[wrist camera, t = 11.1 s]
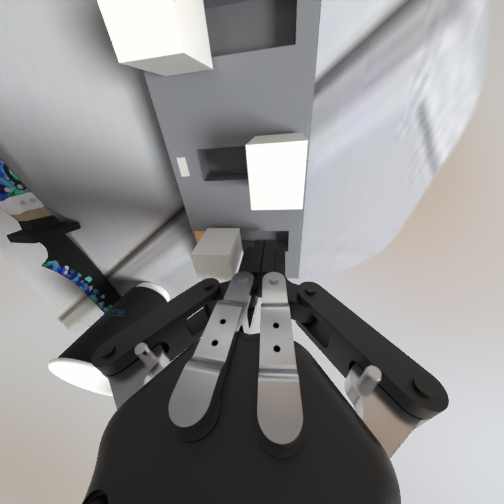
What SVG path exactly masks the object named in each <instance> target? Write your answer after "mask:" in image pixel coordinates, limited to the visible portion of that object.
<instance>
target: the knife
mask: <svg viewBox="0 0 504 504" xmlns="http://www.w3.org/2000/svg"><path fill="white" fill-rule="evenodd" d="M0 207H1V208H2V209H3V210H5V211H6V212H7V213H8V214H10V215H11V216H12V217H14V218H15V219H16V220H18V222H19V224H20V226H21V228H22V230H20V231H17V232H14V233H12V234H9V235H7V237H8V239H9V240H10V242H15V243H38V242H40V243H41V244H43V245H44V246H45V247H46V249H47V251H48V258H47V260H46V262H45V263H43V265H42V266H43V267H46V268H48V269H51V270H53V271H55V272H57V273H59V274H61V275H63V276H65V277H66V278H68V279H70V280H71V281H72V282H74V283H75V284H76V285H77V286H78V287H79V288H80V289H82V290H83V291H84V292H85V293H86V294H87V295H88V296H89V297H90V298H91V299H92V300H93V301H94V302H95V304H96V305H97V306H98V307H99V308H100V309H101V310H102V311H103V312H104V313H106V312H107V311H108V310H109V309H110V308H111V307H112V306H114V305H115V304H116V303H117V302H118V301H119V300H120V299H121V297H120V296H119V294H118V293H117V291H116V290H115V289H114V288H113V286H112V285H111V284H110V282H109V281H108V280H107V279H106V278H105V277H104V275H103V274H102V273H101V272H100V271H99V270H98V269H97V268H96V266H95V265H94V264H93V263H92V262H91V261H90V260H89V258H88V257H87V256H86V255H85V254H84V253H83V252H82V251H81V250H80V249H79V248H78V247H77V246H76V245H75V244H74V243H73V242H72V241H71V240H70V239H69V238H68V237H67V235H66V234H65V233H68V232H71V231H74V230H77V229H80V228H81V227H80V224H79V223H70V222H61V221H60V220H58V219H57V218H56V217H55V216H54V215H52V214H51V213H50V211H49V210H48V209H47V208H46V207H45V206H44V205H43V204H42V203H41V202H40V201H39V199H38V198H37V197H36V196H35V195H34V194H33V193H32V192H31V191H30V190H29V189H28V188H27V186H26V185H25V184H24V183H23V182H22V181H21V180H20V179H19V178H18V177H17V176H16V175H15V173H14V172H13V171H12V170H11V169H10V168H9V167H8V166H7V165H6V164H5V163H4V161H3V160H2V159H1V158H0Z"/></svg>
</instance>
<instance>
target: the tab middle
mask: <svg viewBox="0 0 504 504" xmlns="http://www.w3.org/2000/svg"><path fill="white" fill-rule="evenodd" d="M245 146H246V157H247V168H248V179H249V191H250V202H251V210H291V209H303V197H304V185H305V172H306V159H307V146H308V140H307V138H306V137H305V136H304V134H303V133H302V132H299V133H287V134H275V135H262V136H255V137H254V138H253V139H252V140H250V141H249V142H248V143H247V144H246V145H245Z"/></svg>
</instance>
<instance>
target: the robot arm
mask: <svg viewBox="0 0 504 504" xmlns="http://www.w3.org/2000/svg"><path fill="white" fill-rule="evenodd" d="M258 297H261V298H262V304H261V324H260V326H261V327H260V333H258V334H251V330H252V326H253V322H254V318H255V313H256V309H257V300H258ZM202 307H204V308H203V309H201V308H202ZM199 309H201V310H200V311H198V310H199ZM196 311H198V312H197V313H196V314H194V313H195V312H196ZM192 314H194V315H193V316H192V317H190V318H189V319H187V318H188V317H189V316H191V315H192ZM291 319H294V320H296V323H297V325H298V326H299V327H300V328H301V329H302V330H303V331H304V332H305V334H306V335H307V336H308V337H309V338H310V339H311V340H312V341H313V342H314V344H315V345H316V346H317V347H318V348H319V349H320V350H321V351H322V353H323V354H325V356H326V357H327V358H328V359H329V360H330V361H331V362H332V364H333V365H334V366H335V367H336V368H337V369H338V370H339V372H341V374H342V375H343V376H344V377H345V378H346V380H345V391H346V394H347V395H348V397H349V399H350V400H351V402H352V403H353V405H354V407H355V410H356V411H355V410H354V409H353V408H352V406H351V405H350V404H349V403H348V401H347V400H346V399H345V397H344V396H343V395H342V394H341V392H340V391H339V390H338V388H337V387H336V386H335V385H334V383H333V382H332V381H331V380H330V378H329V377H328V376H327V374H326V373H325V372H324V371H323V369H322V368H321V367H320V366H319V365H318V363H317V362H316V360H315V359H314V358H313V357H312V355H311V354H310V353H309V352H308V351H307V350H306V349H305V348H304V347H303V346H301V345H300V344H299V343H297V342H295V341H293V333H292V324H291ZM200 337H201V338H200ZM199 338H200V339H199ZM189 346H190V347H189ZM184 350H185V351H184ZM183 351H184V352H183ZM182 352H183V353H182ZM179 354H180V355H179ZM178 355H179V356H178ZM177 356H178V357H177ZM176 357H177V358H176ZM175 358H176V359H175ZM173 359H174V360H173ZM172 360H173V361H172ZM170 361H172V362H171V363H170ZM91 363H92V365H93V366H94V367H96V368H97V369H98V370H99V371H101V373H102V374H103V375H104V376H105V377H106V378H108V380H109V383H110V387H111V390H112V393H113V397H114V400H115V404H116V407H117V411H116V412H115V414H114V415H113V417H112V418H111V420H110V421H109V423H108V425H107V427H106V429H105V431H104V434H103V436H102V439H101V442H100V446H99V451H98V457H97V462H96V467H95V470H94V474H93V477H92V480H91V483H90V486H89V489H88V491H87V494H86V496H85V499H84V501H83V503H82V504H401V497H400V490H399V484H398V480H397V477H396V474H395V471H394V468H393V466H392V463H391V461H390V458H391V457H392V455H393V454H394V453H395V452H396V450H397V449H398V448H399V447H400V445H401V444H402V443H403V442H404V440H405V439H406V438H407V437H408V435H409V434H410V433H411V432H412V430H413V429H415V428H416V427H418V426H420V425H421V424H423V423H425V422H426V421H428V420H429V419H431V418H433V417H434V416H436V415H437V414H439V413H440V412H442V411H443V410H445V409H446V408H447V407H448V402H449V400H448V395H447V393H446V391H445V389H444V388H443V386H442V385H441V383H440V382H439V381H438V380H437V379H436V378H435V377H434V376H433V375H431V374H430V373H429V372H428V371H426V370H425V369H424V368H423V367H421V366H420V365H419V364H418V363H416V362H415V361H414V360H413V359H411V358H410V357H409V356H407V355H406V354H405V353H404V352H402V351H401V350H400V349H399V348H397V347H396V346H395V345H394V344H392V343H391V342H390V341H389V340H387V339H386V338H385V337H384V336H382V335H381V334H380V333H379V332H377V331H376V330H375V329H374V328H372V327H371V326H370V325H369V324H367V323H366V322H365V321H363V320H362V319H361V318H360V317H358V316H357V315H356V314H355V313H353V312H352V311H351V310H349V309H348V308H347V307H346V306H345V305H343V304H342V303H341V302H340V301H338V300H337V299H336V298H335V297H333V296H332V295H331V294H330V293H328V292H327V291H326V290H325V289H323V288H322V287H321V286H320V285H318V284H316V283H314V282H304V283H301V284H300V285H296V284H293V283H291V282H290V281H288V280H287V278H286V276H285V250H284V248H283V247H282V246H276V243H275V240H255V242H254V246H248V247H247V248H246V249H245V250H244V253H243V256H242V260H241V263H240V267H239V270H238V273H236V274H235V275H234V276H233V277H232V279H231V280H230V281H226V282H222V283H219V281H218V280H217V279H215V278H207V279H204V280H202V281H200V282H199V283H197V284H196V285H194V286H192V287H191V288H189V289H188V290H186V291H185V292H183V293H181V294H180V295H178V296H177V297H175V298H173V299H172V300H170V301H169V302H167V303H166V304H164V305H162V306H161V307H159V308H158V309H156V310H154V311H153V312H151V313H150V314H148V315H147V316H145V317H143V318H142V319H140V320H139V321H137V322H135V323H134V324H132V325H131V326H129V327H127V328H126V329H124V330H123V331H121V332H120V333H118V334H116V335H115V336H113V337H112V338H110V339H108V340H107V341H105V342H104V343H102V344H101V345H100V346H99V347H98V348H97V349H96V351H95V352H94V354H93V356H92V359H91ZM169 363H170V364H169Z"/></svg>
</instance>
